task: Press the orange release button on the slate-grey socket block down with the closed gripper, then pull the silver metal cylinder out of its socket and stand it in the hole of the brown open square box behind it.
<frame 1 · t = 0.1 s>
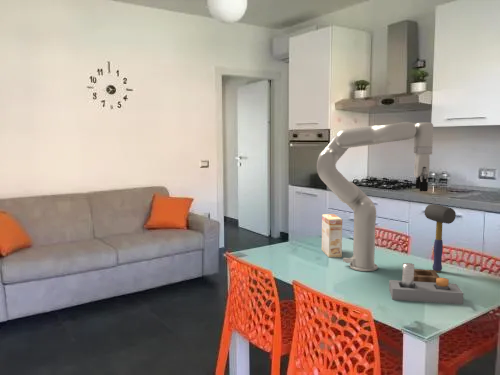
hand: (421, 189, 191), 37 cm above the table, tool pointing down, fingers open, 9 cm apart
socket block: (424, 299, 161), on the table
coffeecake box: (331, 253, 224), on the table
brown open square box: (423, 287, 173), on the table
release button: (441, 300, 160), resting on socket block, slide at 0.0 cm
silver metal cylinder: (407, 295, 162), point 1 cm above the table, touching socket block
rubber mallet: (437, 271, 193), on the table
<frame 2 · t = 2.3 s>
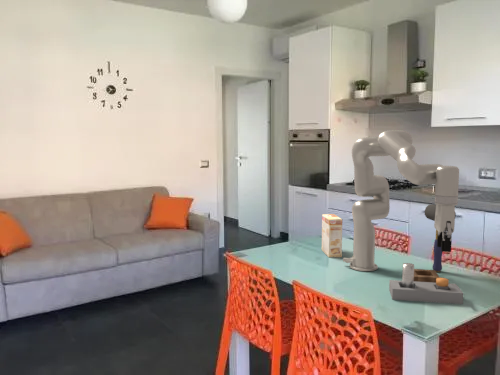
hand: (443, 248, 157), 20 cm above the table, tool pointing down, fingers open, 5 cm apart
nothing on the table moved.
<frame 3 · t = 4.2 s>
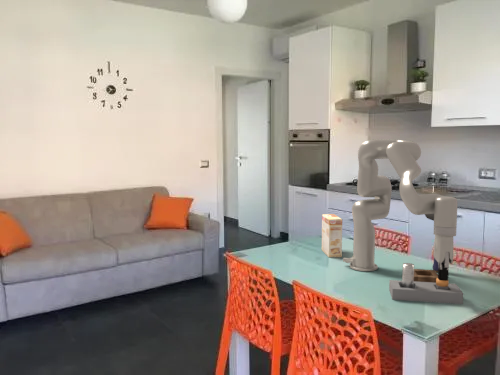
hand: (442, 279, 158), 8 cm above the table, tool pointing down, fingers closed
release button: (441, 300, 160), resting on socket block, slide at 0.0 cm, touching gripper
everything else where it was.
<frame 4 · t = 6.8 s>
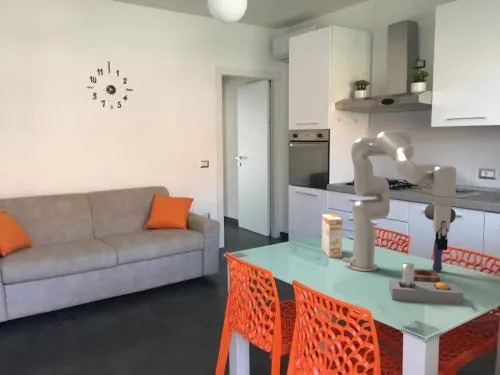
hand: (441, 246, 157), 20 cm above the table, tool pointing down, fingers open, 9 cm apart
release button: (441, 305, 160), resting on socket block, slide at 1.8 cm
everything else where it was.
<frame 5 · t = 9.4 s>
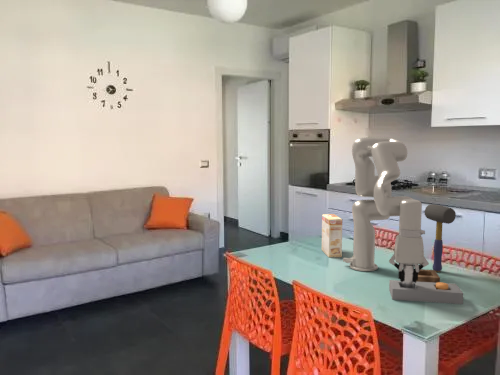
hand: (407, 280, 161), 7 cm above the table, tool pointing down, fingers closed on silver metal cylinder, 4 cm apart
silver metal cylinder: (407, 295, 162), point 1 cm above the table, touching gripper, socket block
everything else where it was.
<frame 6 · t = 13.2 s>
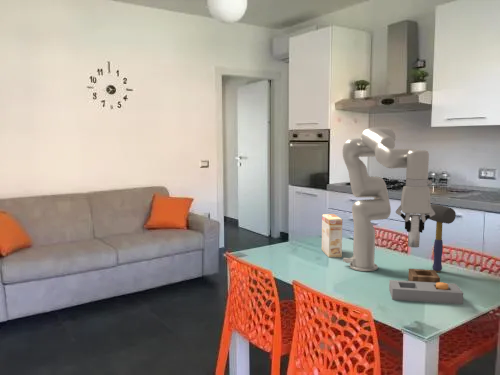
hand: (414, 231, 162), 25 cm above the table, tool pointing down, fingers closed on silver metal cylinder, 4 cm apart
silver metal cylinder: (413, 246, 163), point 19 cm above the table, touching gripper
everything else where it was.
when the fingers open (9 cm above the table, at t = 17.0 s): silver metal cylinder drops 2 cm, resting on brown open square box.
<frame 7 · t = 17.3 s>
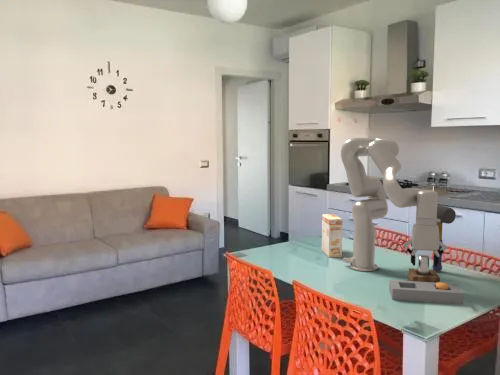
hand: (424, 264, 172), 9 cm above the table, tool pointing down, fingers open, 7 cm apart
silver metal cylinder: (423, 285, 173), point 1 cm above the table, touching brown open square box
everything else where it was.
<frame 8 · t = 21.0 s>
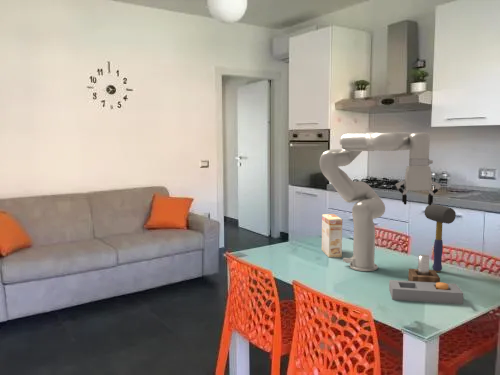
hand: (417, 204, 178), 32 cm above the table, tool pointing down, fingers open, 9 cm apart
nothing on the table moved.
at the end: release button slide at 1.8 cm; silver metal cylinder 0.1 cm off-centre on the brown open square box, point 1.0 cm above the brown open square box's base; silver metal cylinder tilted 1° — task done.
